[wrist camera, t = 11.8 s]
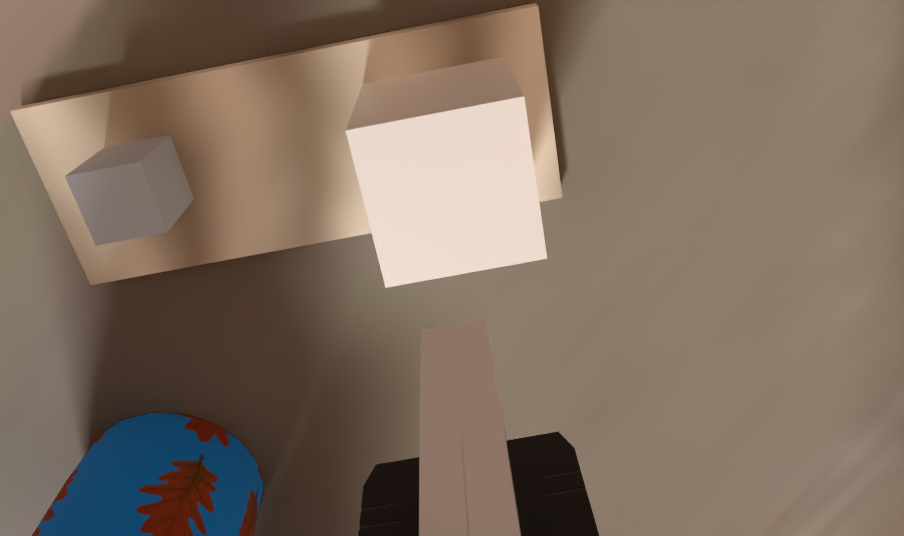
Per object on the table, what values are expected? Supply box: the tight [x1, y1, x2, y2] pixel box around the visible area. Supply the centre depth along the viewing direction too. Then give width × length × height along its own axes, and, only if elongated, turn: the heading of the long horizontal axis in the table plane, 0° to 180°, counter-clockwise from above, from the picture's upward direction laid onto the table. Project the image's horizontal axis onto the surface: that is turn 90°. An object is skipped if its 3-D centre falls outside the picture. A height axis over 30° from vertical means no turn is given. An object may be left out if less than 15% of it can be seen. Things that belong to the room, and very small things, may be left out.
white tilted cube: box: [345, 57, 547, 288], centre depth 30 cm, size 6×6×8 cm
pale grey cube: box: [65, 135, 194, 246], centre depth 32 cm, size 3×3×4 cm
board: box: [10, 3, 562, 285], centre depth 34 cm, size 24×9×1 cm, turn 101°
